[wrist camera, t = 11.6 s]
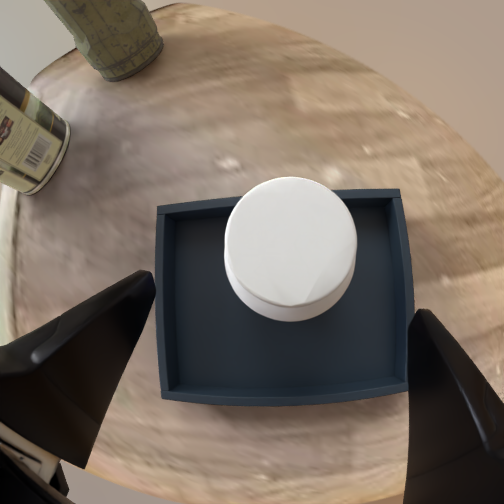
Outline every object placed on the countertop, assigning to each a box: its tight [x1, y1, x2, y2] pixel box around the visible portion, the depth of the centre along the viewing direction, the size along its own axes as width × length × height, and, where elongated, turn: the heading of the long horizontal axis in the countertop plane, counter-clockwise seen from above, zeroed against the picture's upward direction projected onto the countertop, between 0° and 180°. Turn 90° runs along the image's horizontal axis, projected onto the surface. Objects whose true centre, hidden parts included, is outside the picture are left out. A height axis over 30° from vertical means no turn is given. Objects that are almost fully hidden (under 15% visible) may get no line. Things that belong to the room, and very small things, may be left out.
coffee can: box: [0, 67, 70, 195], centre depth 17 cm, size 10×10×14 cm
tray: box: [155, 189, 415, 406], centre depth 16 cm, size 12×15×3 cm
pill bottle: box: [224, 177, 357, 322], centre depth 12 cm, size 5×5×9 cm
